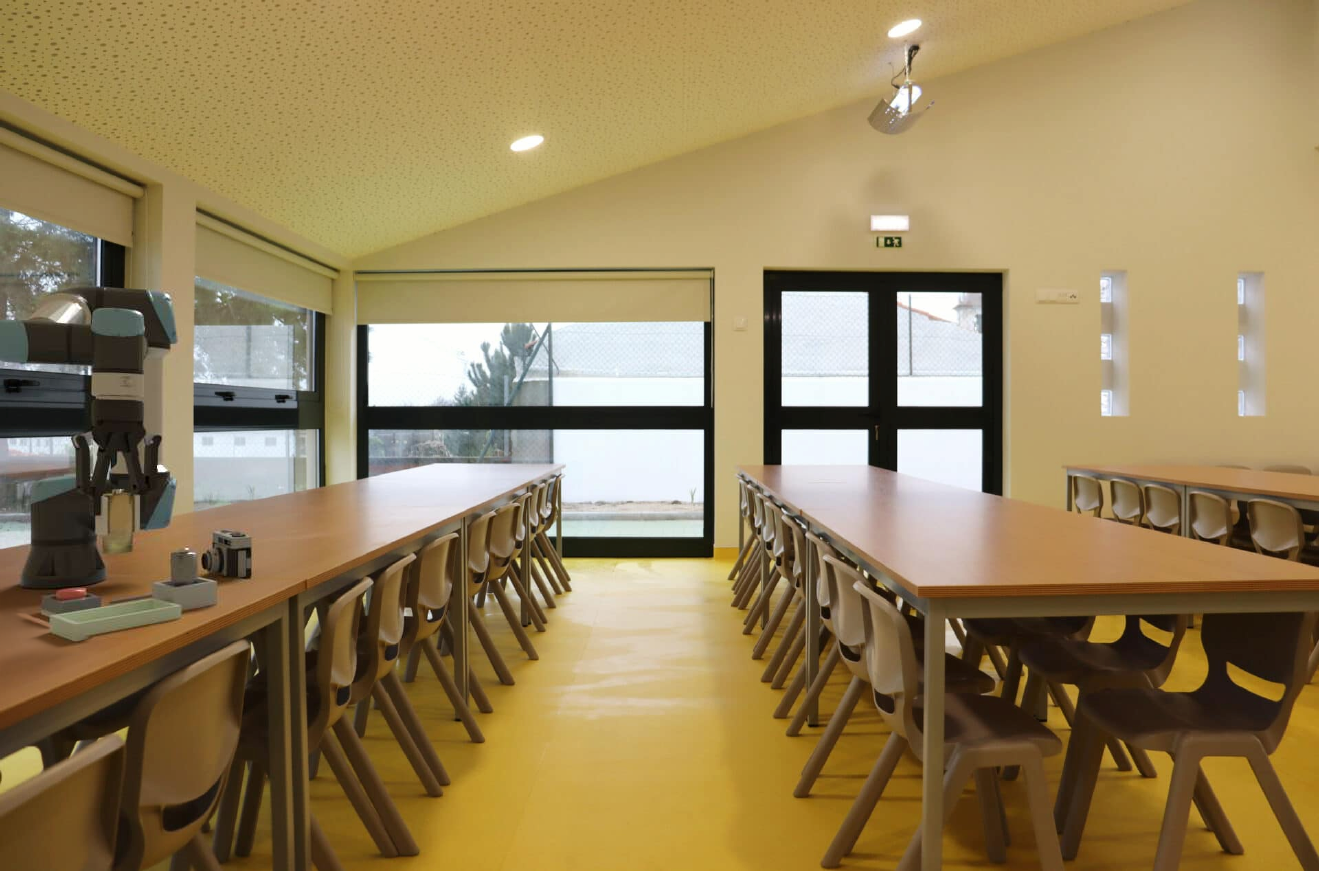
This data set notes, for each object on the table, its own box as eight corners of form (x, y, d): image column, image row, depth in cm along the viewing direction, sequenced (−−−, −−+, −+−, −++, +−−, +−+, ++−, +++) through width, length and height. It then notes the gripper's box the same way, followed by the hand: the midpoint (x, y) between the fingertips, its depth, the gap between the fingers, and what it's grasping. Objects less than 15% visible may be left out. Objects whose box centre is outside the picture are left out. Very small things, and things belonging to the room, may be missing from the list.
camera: (193, 573, 187) (193, 530, 187) (231, 569, 193) (232, 527, 193) (213, 583, 178) (213, 537, 177) (253, 578, 184) (253, 534, 183)
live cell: (97, 551, 140) (98, 489, 139) (125, 548, 143) (126, 488, 143) (109, 554, 137) (109, 491, 137) (137, 551, 141) (137, 489, 141)
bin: (152, 609, 153) (152, 582, 153) (195, 601, 160) (195, 576, 160) (173, 615, 149) (173, 588, 149) (217, 607, 156) (217, 581, 155)
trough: (49, 632, 136) (49, 615, 136) (155, 613, 150) (155, 598, 150) (74, 641, 131) (74, 624, 131) (181, 621, 145) (181, 605, 145)
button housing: (37, 615, 147) (37, 596, 147) (79, 608, 152) (79, 590, 152) (58, 623, 142) (58, 603, 142) (101, 616, 147) (101, 597, 147)
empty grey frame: (105, 606, 154) (105, 601, 154) (158, 597, 163) (158, 592, 162) (124, 612, 150) (124, 607, 150) (178, 603, 158) (178, 598, 158)
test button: (52, 601, 147) (52, 590, 147) (79, 597, 150) (79, 586, 150) (62, 605, 144) (62, 593, 144) (90, 600, 148) (90, 589, 148)
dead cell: (167, 604, 154) (166, 548, 153) (192, 600, 157) (191, 545, 157) (177, 608, 151) (176, 551, 151) (202, 604, 155) (201, 548, 154)
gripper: (69, 397, 130) (69, 540, 131) (181, 400, 145) (181, 529, 145) (49, 397, 135) (49, 536, 135) (160, 400, 149) (160, 525, 150)
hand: (117, 532), depth 140 cm, fingers closed on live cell, 4 cm apart
